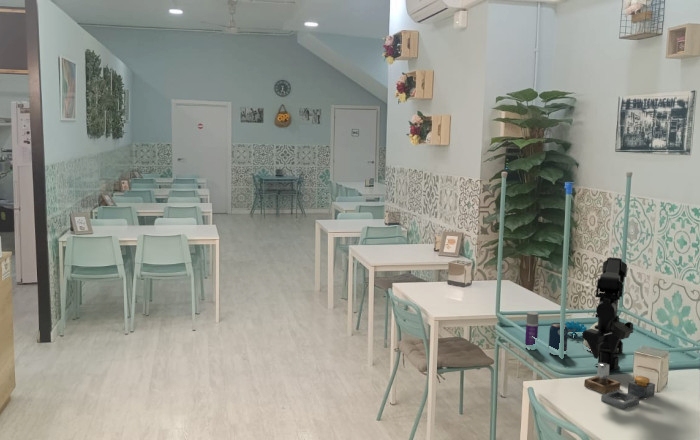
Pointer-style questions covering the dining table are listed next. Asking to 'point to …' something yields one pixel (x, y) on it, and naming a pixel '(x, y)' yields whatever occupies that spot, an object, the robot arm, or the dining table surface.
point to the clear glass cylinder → (603, 373)
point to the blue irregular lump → (575, 327)
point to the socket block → (629, 395)
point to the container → (531, 328)
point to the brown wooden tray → (601, 388)
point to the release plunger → (642, 380)
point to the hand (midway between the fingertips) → (604, 356)
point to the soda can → (557, 336)
